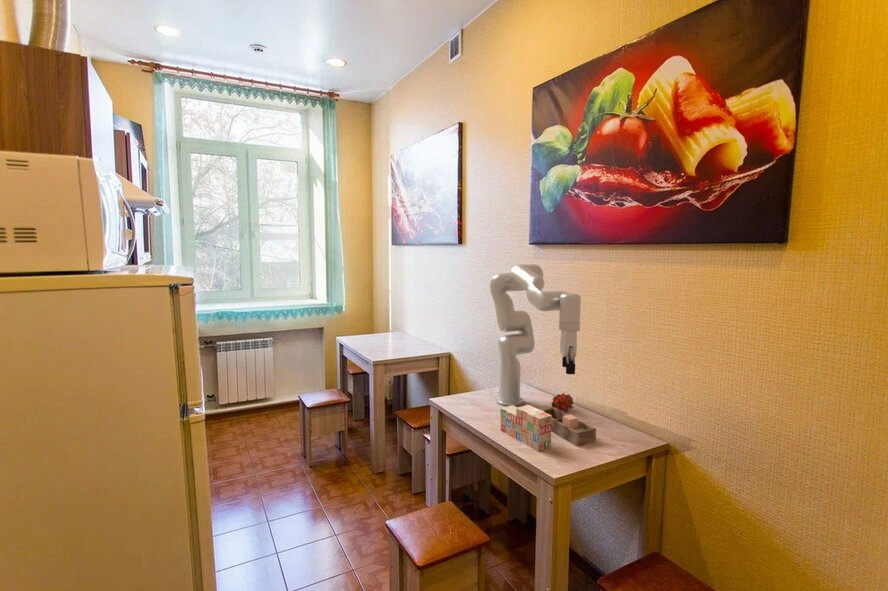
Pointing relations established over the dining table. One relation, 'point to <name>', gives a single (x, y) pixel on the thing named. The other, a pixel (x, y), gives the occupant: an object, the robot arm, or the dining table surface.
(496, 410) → the dining table surface
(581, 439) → the box
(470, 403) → the dining table surface
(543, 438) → the stack of blocks
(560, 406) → the dragon fruit
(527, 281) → the robot arm
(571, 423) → the terracotta block
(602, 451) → the dining table surface
